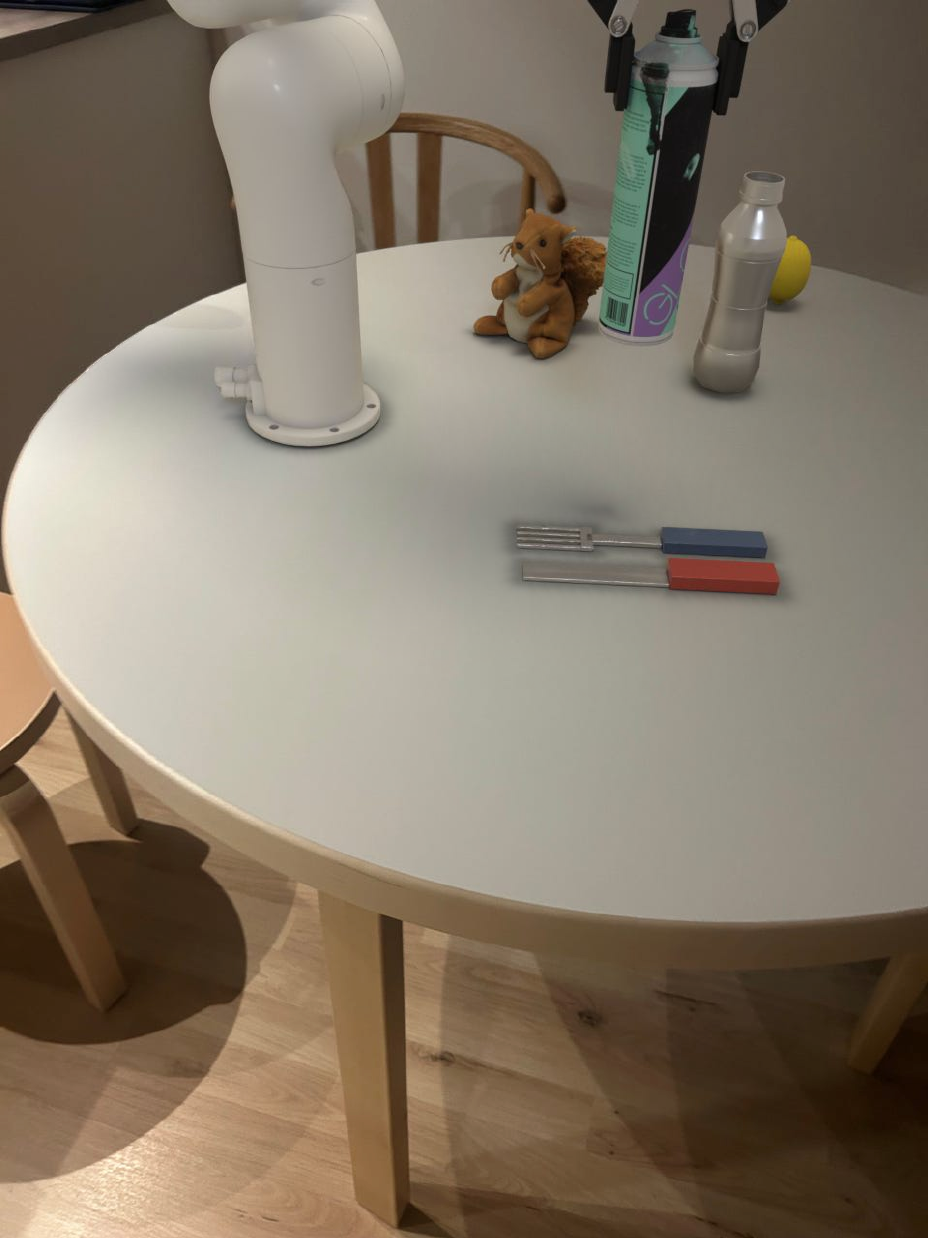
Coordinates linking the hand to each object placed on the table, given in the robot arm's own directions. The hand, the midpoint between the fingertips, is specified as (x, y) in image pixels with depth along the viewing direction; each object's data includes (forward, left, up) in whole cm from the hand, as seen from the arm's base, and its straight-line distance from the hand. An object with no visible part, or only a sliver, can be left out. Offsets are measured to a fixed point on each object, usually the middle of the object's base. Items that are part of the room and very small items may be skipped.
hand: (668, 104), depth 60 cm
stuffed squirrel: (-5, +35, -31) cm, 46 cm away
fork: (+3, -5, -30) cm, 31 cm away
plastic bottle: (+13, +24, -31) cm, 41 cm away
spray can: (0, 0, -15) cm, 15 cm away
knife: (+3, -9, -30) cm, 32 cm away
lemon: (+23, +46, -31) cm, 59 cm away
